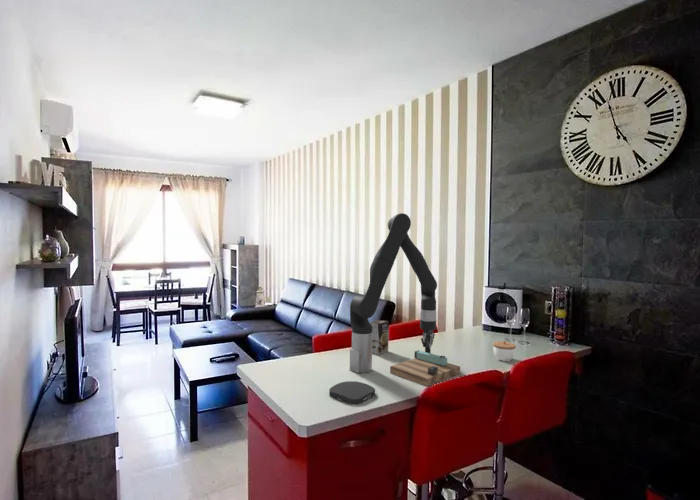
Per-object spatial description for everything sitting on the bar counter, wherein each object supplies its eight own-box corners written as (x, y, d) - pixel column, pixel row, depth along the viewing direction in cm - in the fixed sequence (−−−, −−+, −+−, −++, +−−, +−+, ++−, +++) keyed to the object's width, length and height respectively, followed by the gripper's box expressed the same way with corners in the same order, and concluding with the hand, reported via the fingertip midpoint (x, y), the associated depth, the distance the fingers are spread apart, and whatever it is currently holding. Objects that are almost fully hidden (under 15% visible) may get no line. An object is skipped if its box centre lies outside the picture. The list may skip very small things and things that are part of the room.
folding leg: (447, 364, 174) (447, 356, 174) (443, 365, 172) (443, 357, 172) (418, 356, 185) (418, 349, 185) (414, 357, 183) (414, 350, 183)
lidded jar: (517, 363, 187) (518, 344, 187) (494, 362, 189) (494, 343, 189) (513, 357, 198) (513, 339, 197) (490, 355, 200) (491, 337, 199)
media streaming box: (349, 385, 157) (349, 378, 157) (379, 395, 147) (379, 387, 147) (324, 396, 145) (325, 388, 145) (355, 407, 136) (355, 399, 136)
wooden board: (427, 386, 156) (427, 372, 156) (390, 372, 171) (390, 360, 171) (459, 373, 172) (460, 361, 172) (423, 362, 187) (423, 350, 187)
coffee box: (379, 355, 197) (380, 323, 196) (368, 352, 201) (369, 322, 200) (388, 351, 204) (389, 320, 203) (378, 349, 208) (379, 319, 207)
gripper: (425, 315, 190) (424, 350, 191) (415, 320, 179) (415, 357, 180) (440, 317, 187) (439, 352, 187) (431, 322, 175) (430, 360, 176)
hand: (427, 355), depth 183 cm, fingers closed
